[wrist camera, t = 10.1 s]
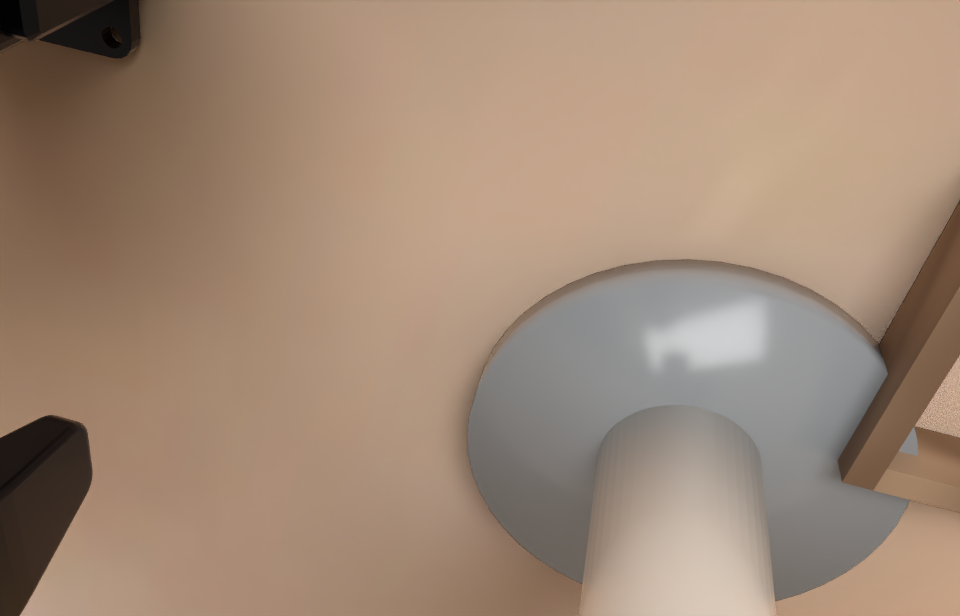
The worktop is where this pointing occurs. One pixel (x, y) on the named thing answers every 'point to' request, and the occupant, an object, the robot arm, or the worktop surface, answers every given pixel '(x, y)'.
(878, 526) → the plate
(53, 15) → the robot arm
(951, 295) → the holder
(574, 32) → the worktop surface
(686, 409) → the salt mill
